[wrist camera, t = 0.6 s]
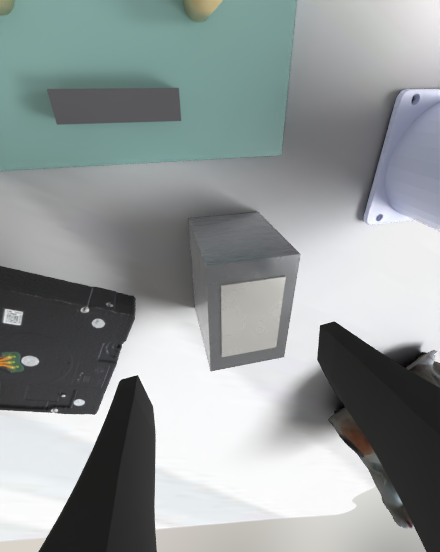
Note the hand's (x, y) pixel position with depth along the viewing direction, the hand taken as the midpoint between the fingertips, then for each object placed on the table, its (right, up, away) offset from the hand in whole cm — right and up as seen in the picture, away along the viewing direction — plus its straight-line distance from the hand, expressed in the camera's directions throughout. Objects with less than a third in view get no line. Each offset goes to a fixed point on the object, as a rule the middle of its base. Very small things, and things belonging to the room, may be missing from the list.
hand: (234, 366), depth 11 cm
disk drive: (-15, 0, +8) cm, 17 cm away
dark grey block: (0, +4, +9) cm, 10 cm away
